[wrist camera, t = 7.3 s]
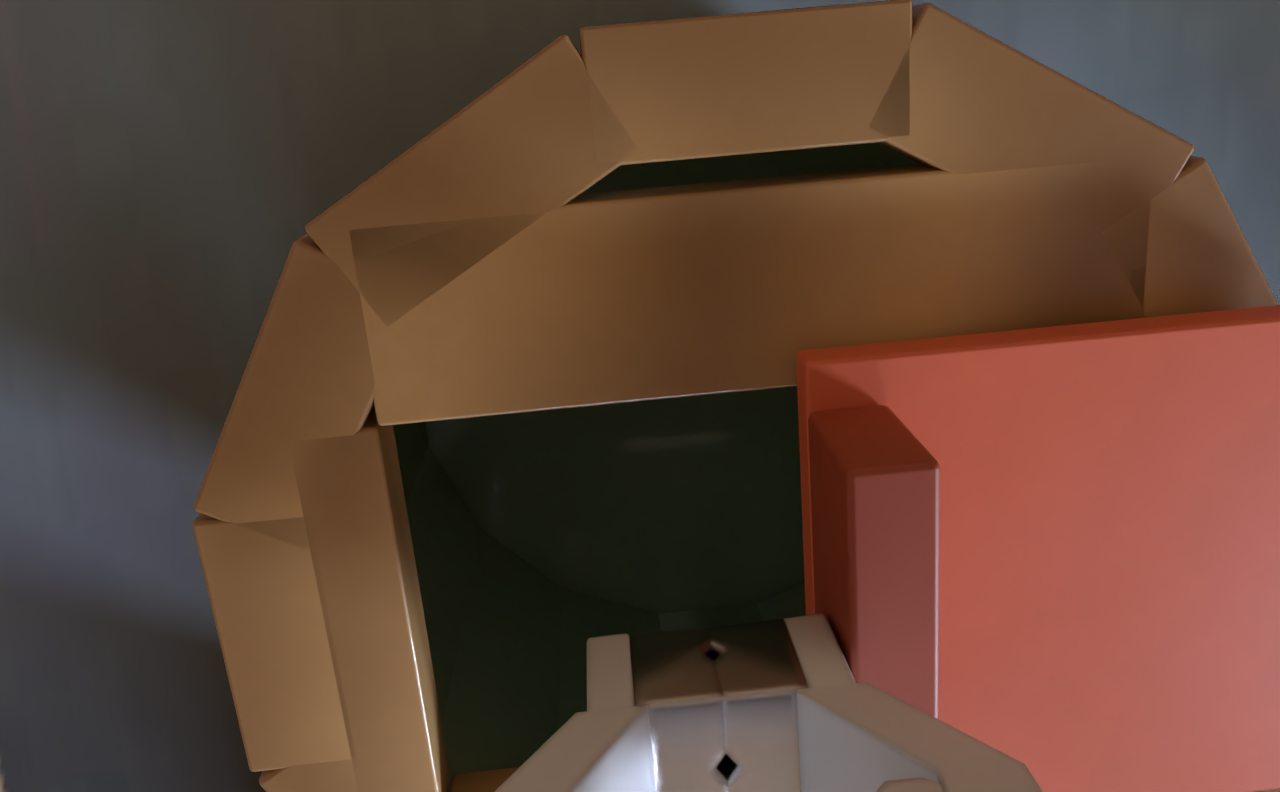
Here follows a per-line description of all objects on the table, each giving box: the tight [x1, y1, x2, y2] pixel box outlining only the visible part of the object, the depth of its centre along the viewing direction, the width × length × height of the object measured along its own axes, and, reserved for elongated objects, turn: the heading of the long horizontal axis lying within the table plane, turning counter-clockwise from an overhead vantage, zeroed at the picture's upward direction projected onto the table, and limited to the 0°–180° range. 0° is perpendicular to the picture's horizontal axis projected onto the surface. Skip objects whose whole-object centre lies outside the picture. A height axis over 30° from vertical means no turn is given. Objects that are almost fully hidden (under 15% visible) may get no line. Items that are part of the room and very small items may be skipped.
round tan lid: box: [193, 0, 1278, 792], centre depth 15 cm, size 15×15×1 cm
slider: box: [796, 305, 1280, 792], centre depth 13 cm, size 7×7×3 cm
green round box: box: [393, 142, 918, 788], centre depth 21 cm, size 14×14×11 cm
